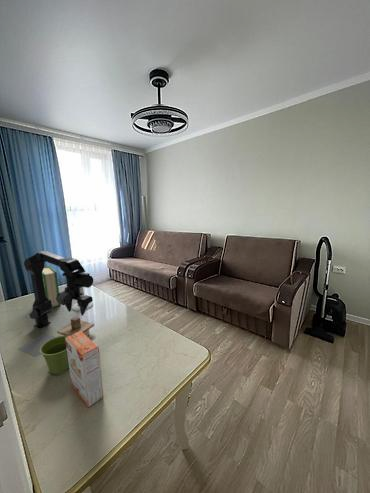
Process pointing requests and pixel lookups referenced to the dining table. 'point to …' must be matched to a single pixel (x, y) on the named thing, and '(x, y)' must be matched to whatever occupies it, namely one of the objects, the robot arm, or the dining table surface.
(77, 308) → the candlestick
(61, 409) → the dining table surface
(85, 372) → the cracker box
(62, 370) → the plant pot
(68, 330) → the lid
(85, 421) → the dining table surface
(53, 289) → the hardback book
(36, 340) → the mat
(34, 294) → the robot arm
